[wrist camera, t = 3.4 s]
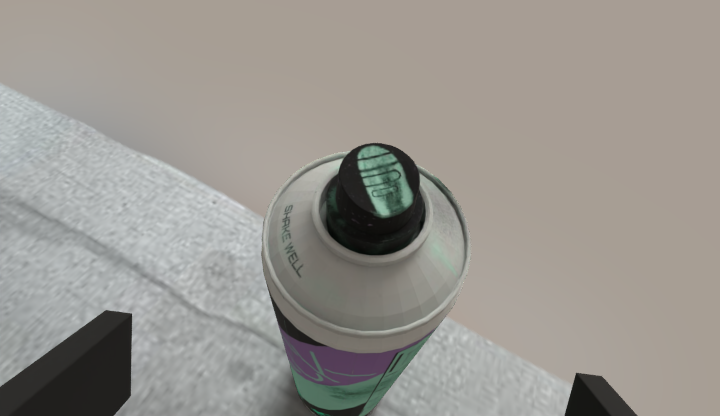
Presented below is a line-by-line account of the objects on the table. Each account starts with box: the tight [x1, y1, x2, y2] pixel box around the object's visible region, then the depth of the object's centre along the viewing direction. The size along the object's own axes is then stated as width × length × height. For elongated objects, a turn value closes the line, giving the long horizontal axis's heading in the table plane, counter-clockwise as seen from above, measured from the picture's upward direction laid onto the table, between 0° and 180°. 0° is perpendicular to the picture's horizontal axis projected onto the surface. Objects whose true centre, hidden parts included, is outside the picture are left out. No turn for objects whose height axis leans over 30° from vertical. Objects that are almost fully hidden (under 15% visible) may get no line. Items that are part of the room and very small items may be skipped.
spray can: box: [261, 143, 471, 416], centre depth 17 cm, size 6×6×20 cm
